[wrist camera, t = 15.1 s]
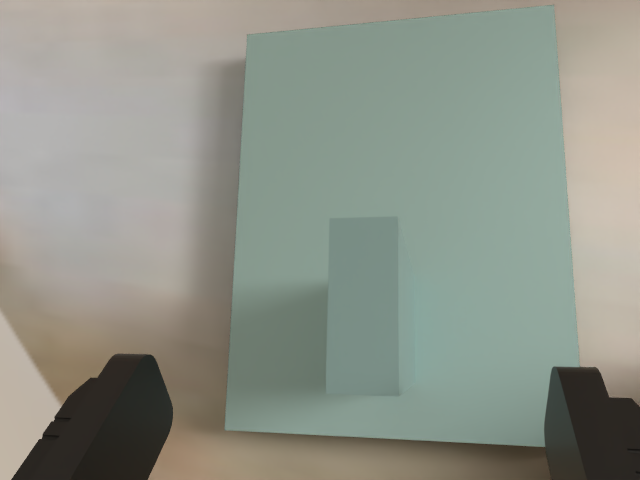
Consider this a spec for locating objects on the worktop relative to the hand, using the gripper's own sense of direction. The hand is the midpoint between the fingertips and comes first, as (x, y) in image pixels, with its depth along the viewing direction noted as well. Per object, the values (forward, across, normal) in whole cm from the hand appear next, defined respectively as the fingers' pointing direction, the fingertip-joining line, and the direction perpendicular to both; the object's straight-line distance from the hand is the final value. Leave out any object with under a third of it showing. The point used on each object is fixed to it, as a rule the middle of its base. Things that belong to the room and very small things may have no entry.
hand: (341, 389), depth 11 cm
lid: (+12, 0, +3) cm, 12 cm away
